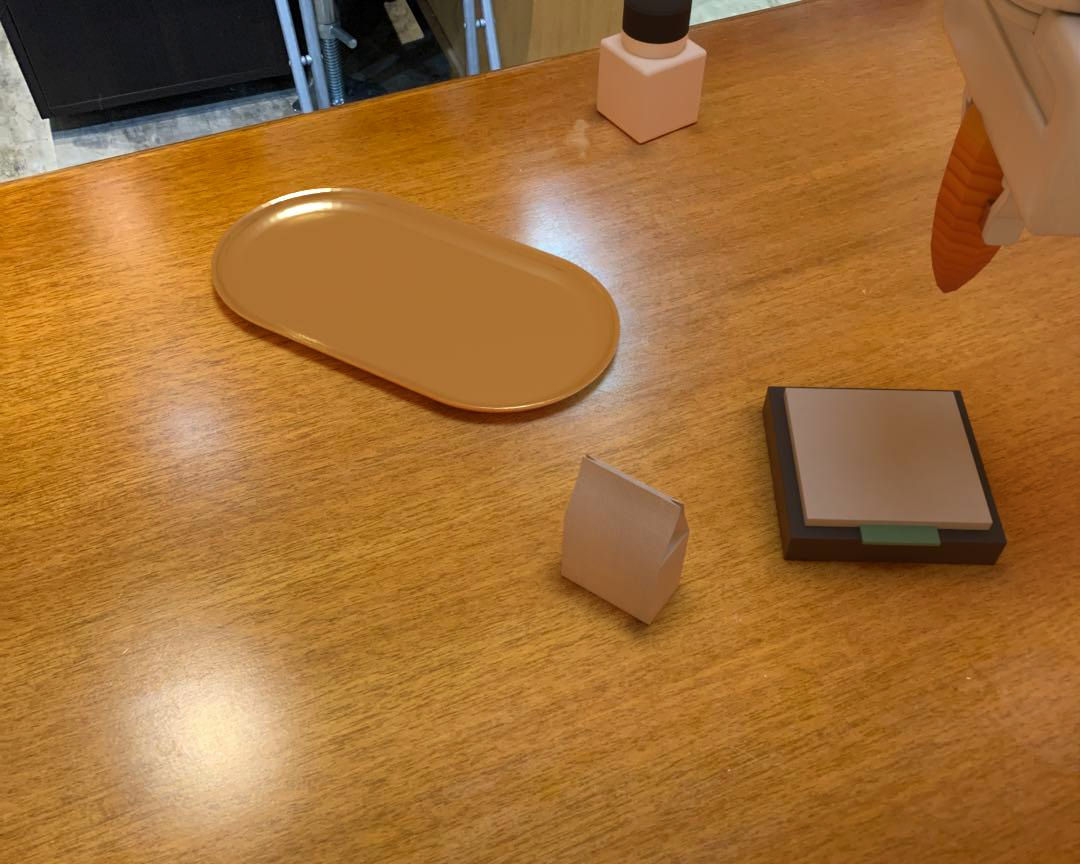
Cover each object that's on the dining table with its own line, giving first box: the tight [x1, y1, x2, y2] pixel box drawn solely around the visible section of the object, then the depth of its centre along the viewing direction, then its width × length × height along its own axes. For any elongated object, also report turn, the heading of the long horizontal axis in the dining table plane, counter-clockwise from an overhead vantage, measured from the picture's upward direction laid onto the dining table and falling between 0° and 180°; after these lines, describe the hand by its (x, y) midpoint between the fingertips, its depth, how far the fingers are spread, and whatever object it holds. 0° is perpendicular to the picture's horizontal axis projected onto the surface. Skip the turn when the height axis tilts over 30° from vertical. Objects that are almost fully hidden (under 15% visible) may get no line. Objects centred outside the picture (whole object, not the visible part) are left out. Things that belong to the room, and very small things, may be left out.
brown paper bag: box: [560, 453, 691, 626], centre depth 67 cm, size 4×7×10 cm, turn 55°
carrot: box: [929, 104, 1004, 294], centre depth 57 cm, size 5×5×15 cm
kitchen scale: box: [762, 385, 1008, 565], centre depth 75 cm, size 14×14×3 cm
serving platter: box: [210, 187, 621, 414], centre depth 87 cm, size 19×35×2 cm, turn 61°
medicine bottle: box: [596, 0, 708, 144], centre depth 100 cm, size 7×7×12 cm
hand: (981, 201), depth 58 cm, fingers closed on carrot, 5 cm apart
